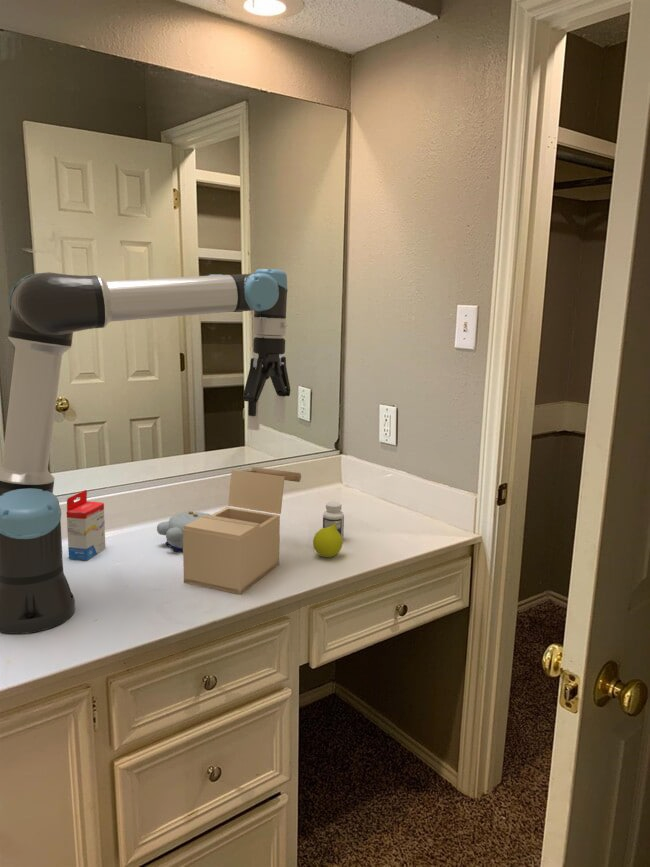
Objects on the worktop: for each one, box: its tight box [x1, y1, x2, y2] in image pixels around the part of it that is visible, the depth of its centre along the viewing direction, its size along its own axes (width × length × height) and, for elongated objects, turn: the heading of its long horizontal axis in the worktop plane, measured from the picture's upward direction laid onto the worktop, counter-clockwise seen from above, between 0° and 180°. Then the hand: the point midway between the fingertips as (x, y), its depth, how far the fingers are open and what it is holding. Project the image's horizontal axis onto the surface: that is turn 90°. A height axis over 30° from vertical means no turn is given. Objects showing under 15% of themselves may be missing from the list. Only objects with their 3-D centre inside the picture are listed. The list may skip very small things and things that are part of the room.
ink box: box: [66, 489, 106, 561], centre depth 155 cm, size 8×5×15 cm, turn 168°
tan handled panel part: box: [227, 466, 302, 515], centre depth 158 cm, size 9×14×11 cm
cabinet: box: [182, 506, 281, 595], centre depth 146 cm, size 18×14×13 cm
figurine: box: [156, 510, 211, 552], centre depth 165 cm, size 17×8×20 cm
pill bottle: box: [322, 501, 345, 542], centre depth 169 cm, size 5×5×10 cm
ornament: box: [312, 521, 343, 558], centre depth 158 cm, size 7×7×10 cm
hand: (266, 425), depth 158 cm, fingers open, 13 cm apart
